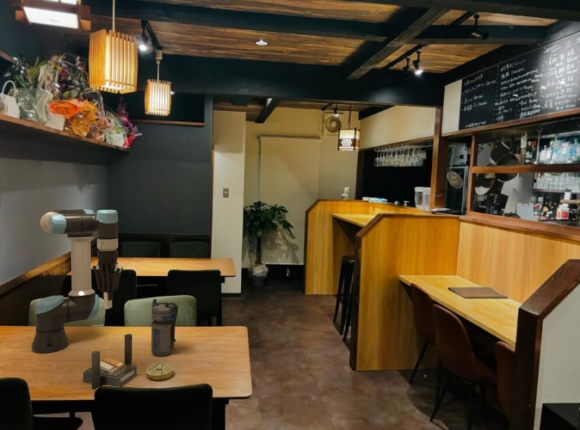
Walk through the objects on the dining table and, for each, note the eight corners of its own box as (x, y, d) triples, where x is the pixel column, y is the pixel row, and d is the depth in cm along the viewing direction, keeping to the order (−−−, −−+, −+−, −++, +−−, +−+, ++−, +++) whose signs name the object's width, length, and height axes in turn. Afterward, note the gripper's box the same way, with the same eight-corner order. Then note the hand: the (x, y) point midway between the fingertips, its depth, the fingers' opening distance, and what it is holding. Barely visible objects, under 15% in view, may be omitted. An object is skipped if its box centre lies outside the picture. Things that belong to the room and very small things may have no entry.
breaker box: (82, 381, 165) (82, 369, 165) (104, 368, 177) (104, 357, 176) (117, 388, 161) (117, 376, 160) (137, 375, 172) (137, 363, 172)
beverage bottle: (170, 359, 188) (171, 305, 186) (145, 354, 192) (145, 301, 190) (182, 350, 198) (183, 299, 196) (158, 346, 202) (158, 295, 199)
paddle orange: (103, 362, 170) (104, 359, 170) (108, 359, 173) (108, 357, 172) (118, 369, 168) (119, 366, 168) (123, 366, 171) (124, 363, 170)
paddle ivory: (96, 366, 166) (96, 363, 166) (101, 363, 169) (101, 360, 169) (112, 373, 164) (112, 370, 164) (116, 370, 167) (117, 367, 167)
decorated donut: (156, 368, 179) (156, 360, 179) (178, 372, 176) (178, 364, 176) (140, 379, 169) (140, 370, 169) (163, 384, 166) (163, 374, 166)
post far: (122, 367, 178) (122, 336, 177) (127, 365, 181) (127, 333, 180) (128, 369, 177) (129, 337, 176) (133, 366, 180) (133, 334, 179)
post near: (89, 388, 160) (89, 353, 159) (95, 385, 163) (95, 350, 162) (96, 390, 159) (96, 354, 158) (102, 386, 162) (101, 351, 161)
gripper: (86, 249, 163) (87, 308, 164) (114, 251, 159) (115, 312, 161) (100, 246, 170) (101, 303, 172) (127, 249, 166) (128, 307, 168)
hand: (108, 307), depth 166 cm, fingers closed
